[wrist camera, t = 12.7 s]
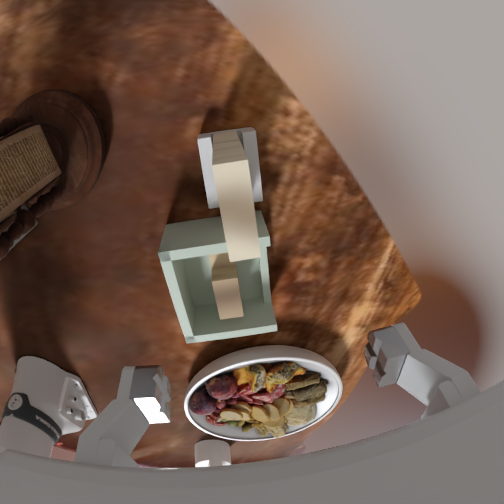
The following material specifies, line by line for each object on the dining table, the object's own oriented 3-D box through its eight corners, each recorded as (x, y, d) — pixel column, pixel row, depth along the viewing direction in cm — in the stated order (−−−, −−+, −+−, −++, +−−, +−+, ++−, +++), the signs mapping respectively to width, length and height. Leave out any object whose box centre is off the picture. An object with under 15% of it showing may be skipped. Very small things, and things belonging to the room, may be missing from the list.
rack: (269, 297, 47) (277, 330, 41) (188, 309, 46) (186, 343, 40) (260, 210, 40) (269, 236, 34) (166, 224, 39) (157, 252, 33)
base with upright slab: (226, 453, 74) (229, 491, 64) (193, 451, 72) (194, 490, 62) (232, 440, 70) (236, 481, 59) (196, 438, 68) (197, 480, 58)
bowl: (362, 344, 56) (377, 375, 49) (298, 425, 69) (304, 452, 63) (203, 321, 48) (203, 359, 42) (174, 415, 62) (173, 445, 55)
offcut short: (242, 303, 42) (243, 316, 40) (219, 306, 42) (220, 319, 40) (236, 265, 39) (237, 277, 37) (211, 269, 39) (211, 281, 36)
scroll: (128, 172, 35) (60, 262, 18) (42, 219, 36) (-37, 313, 19) (81, 66, 28) (-31, 71, 11) (-3, 128, 29) (-110, 180, 12)
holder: (259, 191, 38) (262, 201, 36) (209, 198, 38) (208, 208, 35) (252, 126, 34) (255, 131, 32) (198, 134, 34) (197, 139, 31)
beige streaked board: (245, 195, 38) (260, 257, 26) (224, 199, 38) (230, 262, 26) (235, 130, 34) (247, 159, 22) (213, 133, 33) (212, 165, 21)
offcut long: (240, 292, 45) (242, 306, 42) (219, 295, 44) (220, 309, 42) (231, 236, 40) (233, 248, 37) (208, 239, 40) (207, 251, 37)
